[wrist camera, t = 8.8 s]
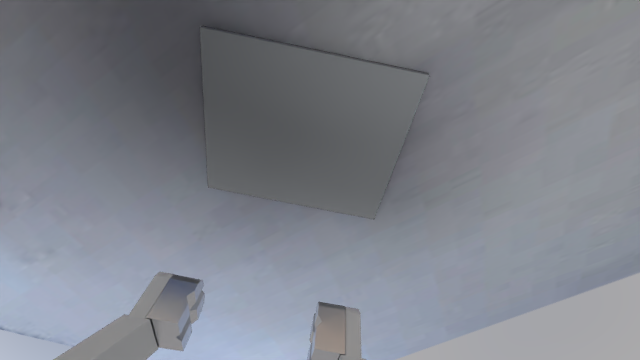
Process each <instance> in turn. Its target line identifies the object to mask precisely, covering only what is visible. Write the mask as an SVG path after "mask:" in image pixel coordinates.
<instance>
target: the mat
mask: <svg viewBox="0 0 640 360" xmlns="http://www.w3.org/2000/svg"><path fill="white" fill-rule="evenodd" d="M200 46H201V65H202V85H203V104H204V123H205V142H206V161H207V180H208V188H213V189H218V190H223V191H229V192H234V193H239V194H244V195H249V196H254V197H260V198H265V199H270V200H275V201H280V202H286V203H291V204H296V205H301V206H306V207H312V208H317V209H322V210H327V211H332V212H337V213H343V214H348V215H353V216H358V217H363V218H369V219H375V216H376V213H377V211H378V208H379V206H380V203H381V201H382V198H383V195H384V193H385V190H386V188H387V185H388V182H389V180H390V177H391V175H392V172H393V170H394V167H395V164H396V162H397V159H398V157H399V154H400V152H401V149H402V146H403V144H404V141H405V139H406V136H407V134H408V131H409V128H410V126H411V123H412V121H413V118H414V115H415V113H416V110H417V108H418V105H419V103H420V100H421V97H422V95H423V92H424V90H425V87H426V85H427V82H428V79H429V77H430V75H429V74H428V73H424V72H420V71H415V70H410V69H406V68H401V67H396V66H391V65H387V64H382V63H377V62H372V61H368V60H363V59H358V58H353V57H349V56H344V55H339V54H334V53H330V52H325V51H320V50H315V49H311V48H306V47H301V46H296V45H292V44H287V43H282V42H277V41H273V40H268V39H263V38H258V37H254V36H249V35H244V34H239V33H235V32H230V31H225V30H220V29H216V28H211V27H206V26H201V27H200Z"/></svg>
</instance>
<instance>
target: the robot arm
mask: <svg viewBox="0 0 640 360" xmlns="http://www.w3.org/2000/svg"><path fill="white" fill-rule="evenodd" d="M203 286H204V283H203V280H200V279H195V278H190V277H184V276H179V275H175V274H170V273H164V272H159V273H158V274H157V275H155V276H154V278H153V279H152V281H151V282H150V284H149V285H148V287H147V288H146V290H145V291H144V293H143V294H142V296H141V297H140V299H139V300H138V302H137V303H136V305H135V306H134V308H133V309H132V311H131V312H130V314H129V315H125V314H124V315H123V316H121V317H119V318H118V319H116V320H115V321H113V322H112V323H110V324H108V325H107V326H105V327H104V328H102V329H101V330H99V331H98V332H96V333H94V334H93V335H91V336H90V337H88V338H87V339H85V340H83V341H82V342H80V343H79V344H77V345H76V346H74V347H72V348H71V349H69V350H68V351H66V352H65V353H63V354H61V355H60V356H58V357H57V358H55V359H54V360H146V359H147V358H148V357H150V356H151V355H152V354H153V353H154V352H155V351H156V350H158V347H159V348H166V349H172V350H179V351H184V348H185V346H186V344H187V342H188V340H189V338H190V335H191V333H192V327H191V324H192V323H194V322H195V321H196V320H198V318H199V315H200V313H201V311H202V307H203V304H204V298H205V295H204V292H203V291H202V288H203ZM310 342H311V345H310V348H309V351H308V357H307V360H366V359H362V358H361V322H360V311H359V309H355V308H350V307H345V306H340V305H334V304H329V303H323V302H318V304H317V307H316V313H315V314H314V317H313V321H312V326H311V333H310Z"/></svg>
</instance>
